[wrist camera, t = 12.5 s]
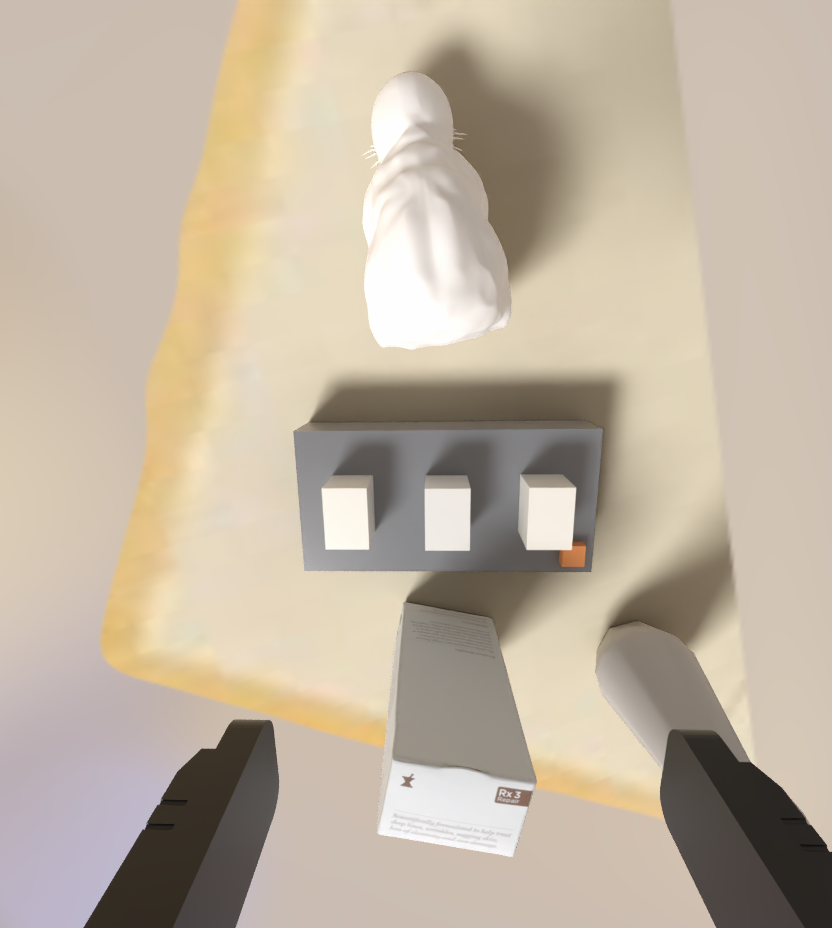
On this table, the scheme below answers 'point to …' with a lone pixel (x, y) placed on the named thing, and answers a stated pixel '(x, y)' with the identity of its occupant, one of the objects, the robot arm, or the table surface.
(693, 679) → the salt shaker
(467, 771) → the skincare box
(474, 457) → the panel
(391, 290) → the whiskered white figurine
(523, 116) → the table surface
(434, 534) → the block
